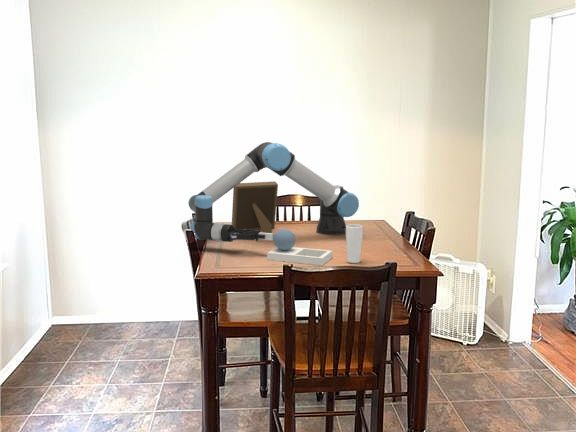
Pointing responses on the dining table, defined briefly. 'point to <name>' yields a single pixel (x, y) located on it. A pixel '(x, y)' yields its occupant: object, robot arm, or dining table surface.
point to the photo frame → (255, 206)
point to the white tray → (301, 255)
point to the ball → (284, 239)
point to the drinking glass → (354, 242)
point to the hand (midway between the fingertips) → (273, 237)
